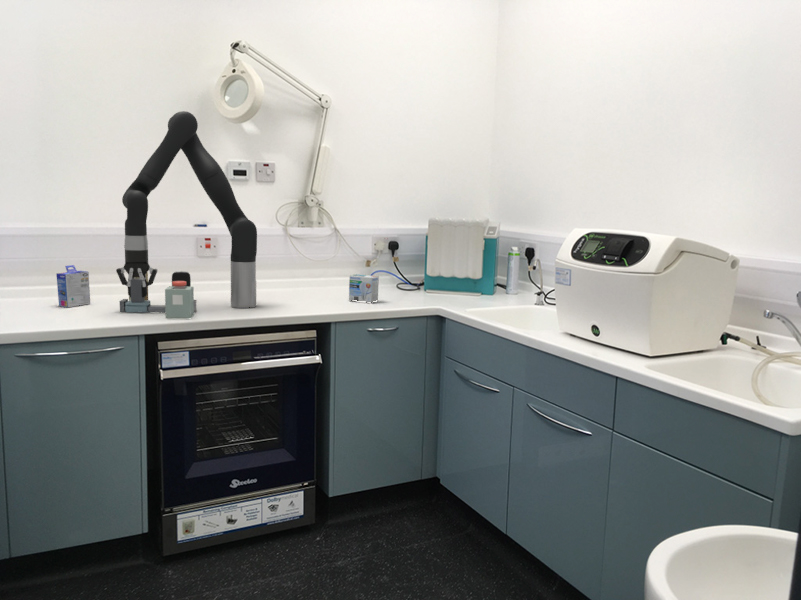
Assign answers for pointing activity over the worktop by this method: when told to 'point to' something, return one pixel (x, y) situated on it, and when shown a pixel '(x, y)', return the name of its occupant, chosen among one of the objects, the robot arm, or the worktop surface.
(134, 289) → the carriage
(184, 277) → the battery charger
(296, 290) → the worktop surface
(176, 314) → the button housing
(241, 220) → the robot arm
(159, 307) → the rail
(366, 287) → the light bulb box
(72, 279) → the ink cartridge box
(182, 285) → the red button
